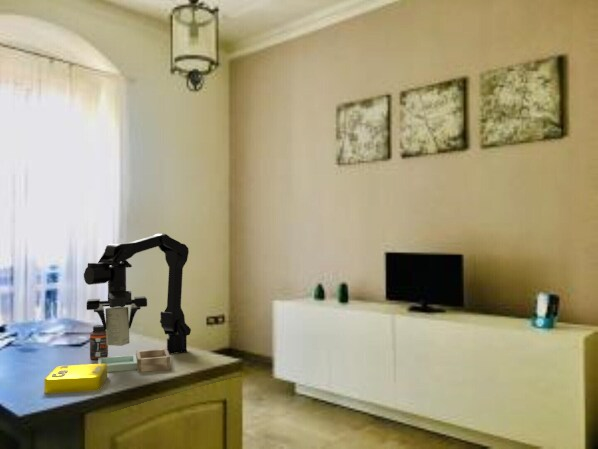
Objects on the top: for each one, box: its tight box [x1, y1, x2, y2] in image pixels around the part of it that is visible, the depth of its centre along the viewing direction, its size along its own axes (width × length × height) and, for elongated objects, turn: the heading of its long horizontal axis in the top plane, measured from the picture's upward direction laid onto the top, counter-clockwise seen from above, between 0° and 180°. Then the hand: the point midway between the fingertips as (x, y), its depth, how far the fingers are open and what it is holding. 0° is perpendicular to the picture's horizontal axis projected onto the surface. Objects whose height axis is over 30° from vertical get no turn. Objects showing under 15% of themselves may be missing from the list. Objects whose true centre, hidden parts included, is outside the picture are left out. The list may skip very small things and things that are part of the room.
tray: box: [97, 354, 137, 373], centre depth 175 cm, size 12×12×2 cm
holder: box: [135, 348, 171, 373], centre depth 175 cm, size 10×12×4 cm
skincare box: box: [104, 306, 130, 347], centre depth 175 cm, size 6×4×12 cm
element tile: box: [43, 363, 108, 395], centre depth 155 cm, size 15×15×5 cm
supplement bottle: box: [89, 324, 109, 361], centre depth 186 cm, size 6×6×11 cm
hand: (117, 329), depth 175 cm, fingers closed on skincare box, 7 cm apart
